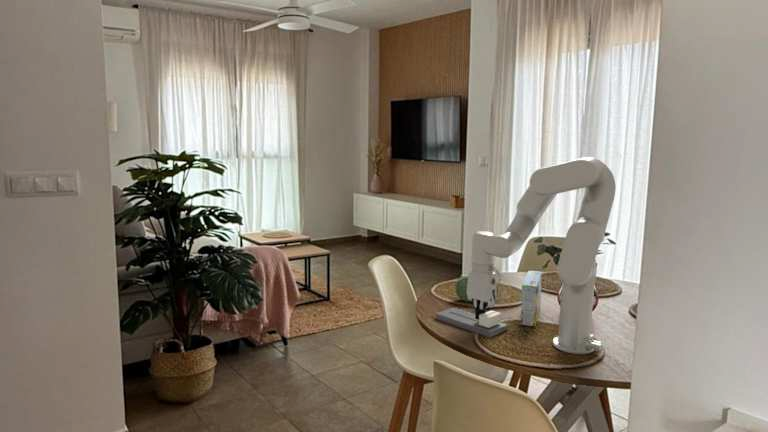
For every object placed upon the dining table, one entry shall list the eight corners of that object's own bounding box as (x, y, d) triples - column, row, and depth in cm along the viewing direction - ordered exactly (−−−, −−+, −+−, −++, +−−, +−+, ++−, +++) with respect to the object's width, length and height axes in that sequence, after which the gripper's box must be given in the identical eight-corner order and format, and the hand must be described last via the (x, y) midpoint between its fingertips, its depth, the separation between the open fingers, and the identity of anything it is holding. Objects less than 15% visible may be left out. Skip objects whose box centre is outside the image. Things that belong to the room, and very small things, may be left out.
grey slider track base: (507, 330, 179) (507, 324, 178) (490, 337, 172) (490, 331, 172) (453, 312, 196) (453, 307, 196) (435, 318, 189) (435, 313, 189)
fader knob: (500, 322, 179) (501, 312, 178) (488, 327, 174) (489, 317, 173) (491, 319, 182) (491, 309, 181) (478, 324, 177) (479, 314, 176)
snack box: (525, 307, 203) (527, 269, 201) (540, 309, 201) (543, 271, 199) (519, 325, 184) (521, 284, 181) (535, 327, 182) (538, 286, 179)
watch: (502, 293, 220) (503, 268, 218) (483, 293, 220) (484, 268, 218) (500, 290, 225) (501, 265, 223) (481, 289, 226) (482, 264, 224)
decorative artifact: (478, 299, 212) (479, 275, 210) (481, 305, 205) (483, 280, 203) (454, 299, 212) (455, 275, 210) (456, 304, 205) (457, 280, 203)
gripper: (507, 270, 175) (504, 322, 178) (471, 261, 186) (469, 310, 189) (494, 274, 170) (491, 327, 173) (458, 265, 181) (456, 315, 184)
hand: (479, 318), depth 181 cm, fingers closed
